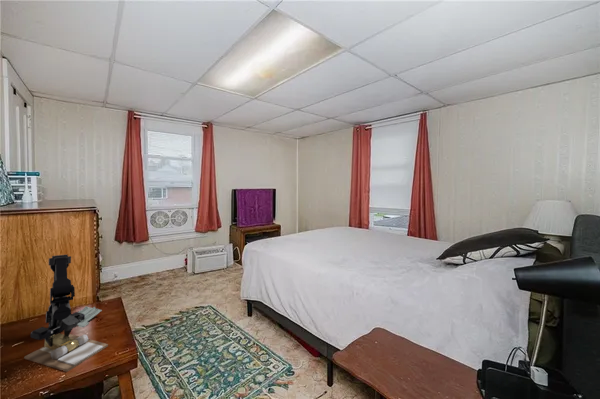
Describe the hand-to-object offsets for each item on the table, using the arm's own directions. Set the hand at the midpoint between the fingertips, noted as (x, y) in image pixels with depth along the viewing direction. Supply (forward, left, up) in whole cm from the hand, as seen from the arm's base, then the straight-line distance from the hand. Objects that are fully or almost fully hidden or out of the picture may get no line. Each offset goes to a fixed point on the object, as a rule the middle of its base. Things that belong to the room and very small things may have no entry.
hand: (58, 342), depth 117 cm
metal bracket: (-15, +23, -4) cm, 27 cm away
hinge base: (+6, 0, -3) cm, 7 cm away
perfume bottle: (+2, 0, -2) cm, 3 cm away
